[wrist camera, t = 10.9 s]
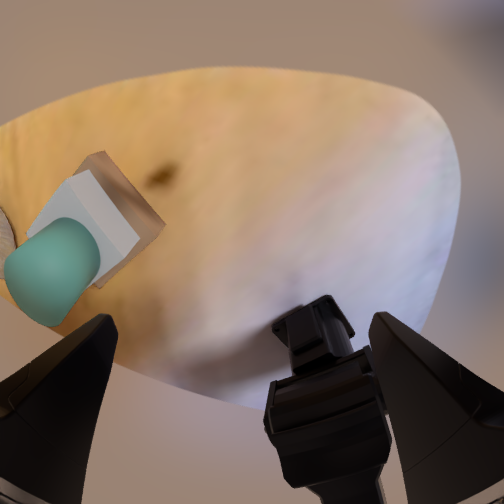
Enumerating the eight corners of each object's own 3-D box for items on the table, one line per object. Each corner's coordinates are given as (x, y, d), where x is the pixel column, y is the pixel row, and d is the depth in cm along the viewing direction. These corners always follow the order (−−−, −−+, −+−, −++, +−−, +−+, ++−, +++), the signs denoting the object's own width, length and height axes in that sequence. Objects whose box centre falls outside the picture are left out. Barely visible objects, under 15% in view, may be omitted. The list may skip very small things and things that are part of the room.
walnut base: (168, 222, 21) (156, 237, 18) (112, 271, 23) (99, 288, 21) (107, 149, 18) (88, 155, 15) (59, 210, 20) (41, 222, 18)
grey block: (140, 238, 18) (124, 258, 16) (92, 277, 20) (76, 297, 17) (88, 169, 16) (65, 179, 13) (47, 219, 18) (25, 233, 15)
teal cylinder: (113, 259, 16) (77, 306, 11) (79, 292, 17) (47, 336, 13) (65, 202, 14) (16, 235, 10) (37, 244, 15) (-3, 280, 11)
